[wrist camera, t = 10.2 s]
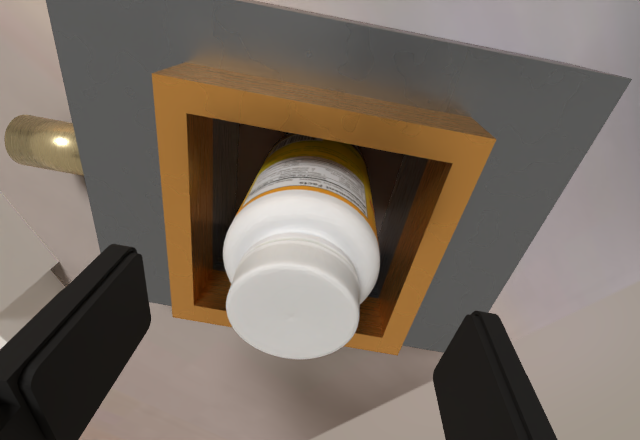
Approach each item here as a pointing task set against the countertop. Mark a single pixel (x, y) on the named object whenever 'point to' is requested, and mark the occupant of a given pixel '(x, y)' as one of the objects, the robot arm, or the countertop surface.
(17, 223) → the white angular block
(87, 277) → the robot arm
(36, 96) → the countertop surface
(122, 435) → the countertop surface
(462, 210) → the grey bottle holder
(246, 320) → the supplement bottle
